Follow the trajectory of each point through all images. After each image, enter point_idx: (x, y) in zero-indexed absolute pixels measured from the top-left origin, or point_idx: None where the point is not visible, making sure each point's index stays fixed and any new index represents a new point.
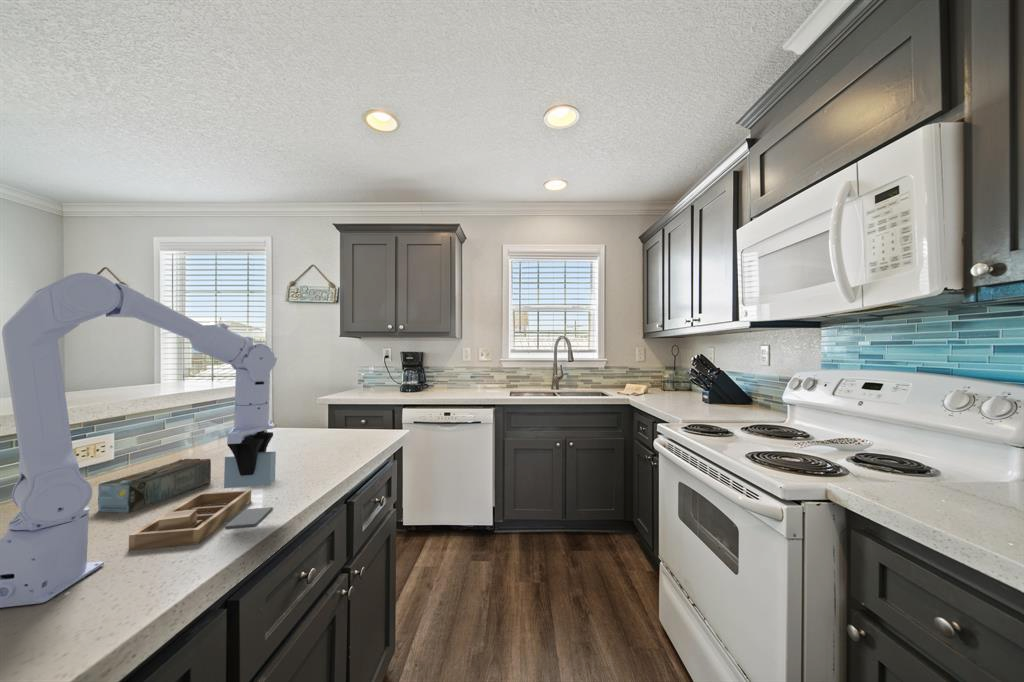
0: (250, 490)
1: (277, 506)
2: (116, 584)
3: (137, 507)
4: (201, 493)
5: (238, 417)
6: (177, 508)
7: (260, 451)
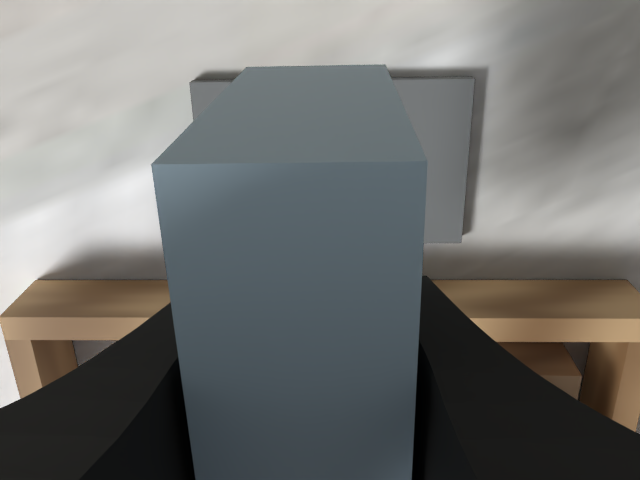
0: (12, 316)
1: (141, 65)
2: None
3: None
4: None
5: None
6: None
7: (167, 422)
